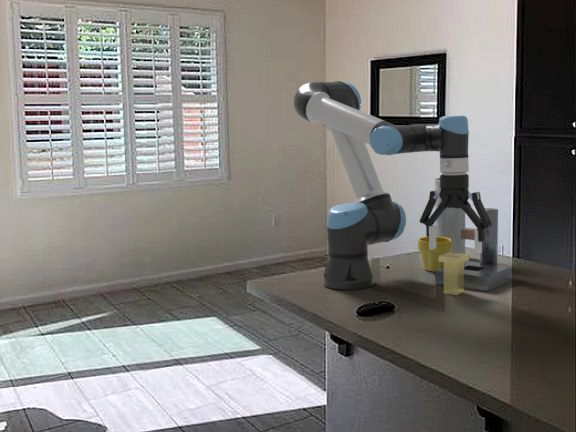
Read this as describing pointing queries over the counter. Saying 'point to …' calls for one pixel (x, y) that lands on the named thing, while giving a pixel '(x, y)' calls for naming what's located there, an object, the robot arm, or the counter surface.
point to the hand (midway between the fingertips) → (454, 251)
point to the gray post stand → (482, 260)
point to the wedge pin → (453, 272)
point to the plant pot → (433, 252)
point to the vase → (450, 224)
